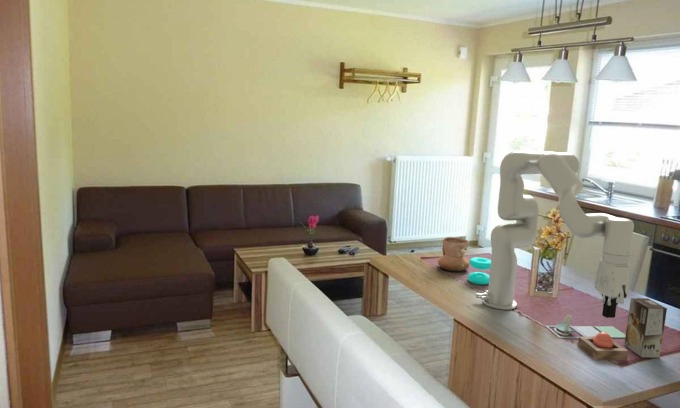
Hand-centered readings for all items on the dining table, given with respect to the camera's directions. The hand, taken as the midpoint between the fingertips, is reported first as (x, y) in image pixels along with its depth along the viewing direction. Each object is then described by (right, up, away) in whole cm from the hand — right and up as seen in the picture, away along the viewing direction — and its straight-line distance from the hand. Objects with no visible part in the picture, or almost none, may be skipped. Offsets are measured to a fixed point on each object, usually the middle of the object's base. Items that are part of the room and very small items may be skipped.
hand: (608, 316), depth 159 cm
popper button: (-1, -10, +2) cm, 10 cm away
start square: (-6, -9, +17) cm, 20 cm away
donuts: (-21, 0, +68) cm, 71 cm away
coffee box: (+13, -12, +5) cm, 19 cm away
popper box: (-1, -12, +3) cm, 12 cm away
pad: (+11, -10, +19) cm, 24 cm away
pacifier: (-7, -9, +17) cm, 20 cm away
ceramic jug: (-29, +4, +86) cm, 91 cm away
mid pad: (+3, -9, +18) cm, 20 cm away
